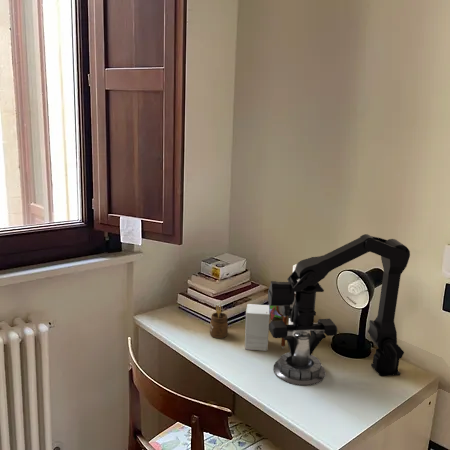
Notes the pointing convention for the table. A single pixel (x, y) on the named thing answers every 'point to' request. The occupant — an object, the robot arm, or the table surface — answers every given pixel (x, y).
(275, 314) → the geometric puzzle
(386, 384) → the table surface
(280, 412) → the table surface
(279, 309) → the magnifying glass
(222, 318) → the utensil holder
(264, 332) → the supplement box
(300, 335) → the cylinder
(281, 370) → the ring collar
